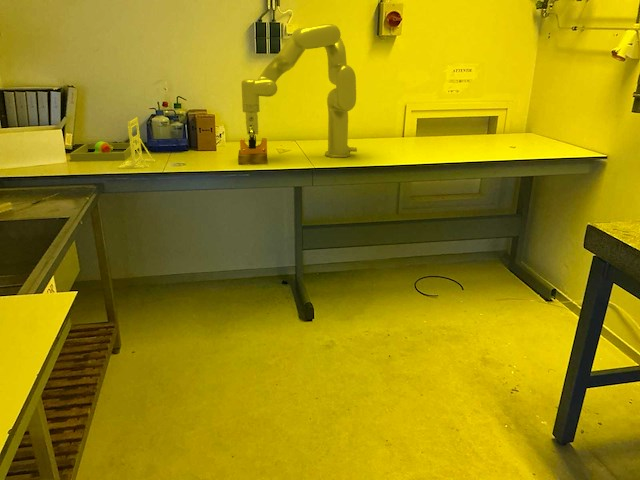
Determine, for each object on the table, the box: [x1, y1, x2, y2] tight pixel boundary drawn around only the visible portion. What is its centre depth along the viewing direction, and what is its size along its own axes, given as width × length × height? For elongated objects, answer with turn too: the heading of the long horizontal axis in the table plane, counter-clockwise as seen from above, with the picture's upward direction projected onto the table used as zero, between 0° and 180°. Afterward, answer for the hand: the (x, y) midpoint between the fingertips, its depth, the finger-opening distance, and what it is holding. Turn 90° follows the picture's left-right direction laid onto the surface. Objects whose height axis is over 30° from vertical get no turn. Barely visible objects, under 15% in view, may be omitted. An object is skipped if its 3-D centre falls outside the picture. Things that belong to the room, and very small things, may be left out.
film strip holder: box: [117, 117, 156, 169], centre depth 228 cm, size 14×14×20 cm
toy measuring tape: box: [93, 141, 114, 153], centre depth 245 cm, size 6×19×7 cm, turn 152°
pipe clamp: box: [239, 137, 268, 154], centre depth 237 cm, size 12×4×6 cm, turn 101°
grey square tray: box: [69, 142, 132, 162], centre depth 248 cm, size 24×24×4 cm
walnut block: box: [237, 149, 268, 166], centre depth 239 cm, size 13×13×4 cm
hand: (252, 146), depth 237 cm, fingers open, 9 cm apart
